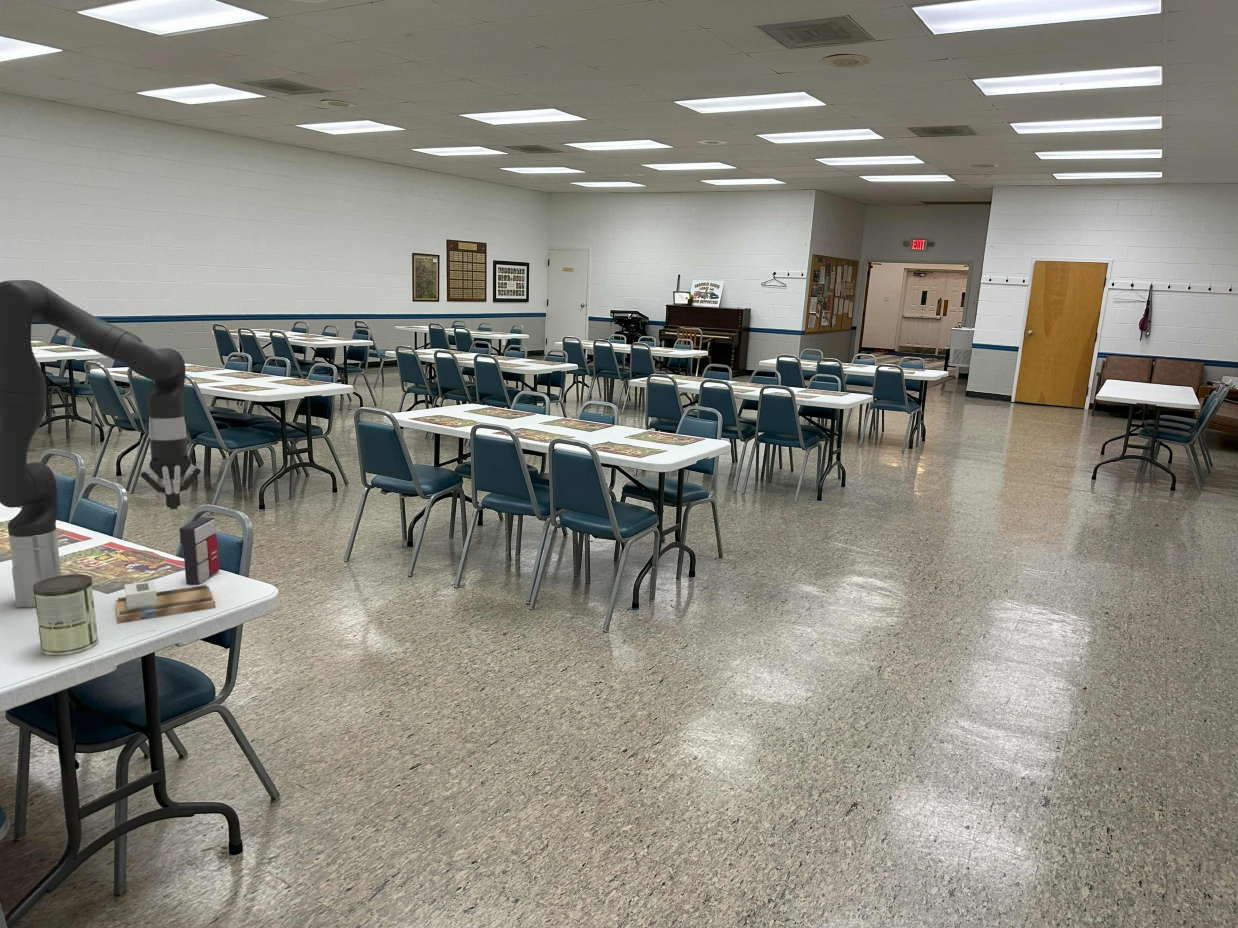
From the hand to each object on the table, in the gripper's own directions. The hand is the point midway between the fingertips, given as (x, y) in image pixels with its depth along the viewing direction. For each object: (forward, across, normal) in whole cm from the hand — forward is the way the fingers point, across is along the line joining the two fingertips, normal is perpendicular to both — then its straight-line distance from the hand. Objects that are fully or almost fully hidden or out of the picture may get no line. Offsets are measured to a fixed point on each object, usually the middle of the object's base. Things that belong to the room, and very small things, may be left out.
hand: (173, 508), depth 198 cm
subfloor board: (+23, -3, -2) cm, 24 cm away
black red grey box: (+24, +7, +16) cm, 29 cm away
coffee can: (+24, -22, -17) cm, 36 cm away
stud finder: (+22, -8, -2) cm, 23 cm away
